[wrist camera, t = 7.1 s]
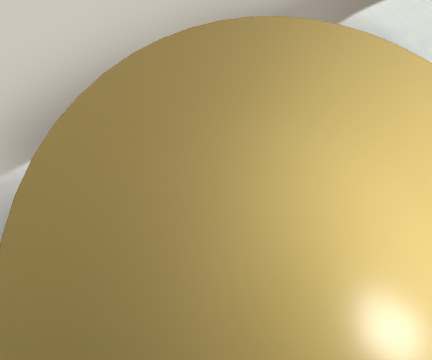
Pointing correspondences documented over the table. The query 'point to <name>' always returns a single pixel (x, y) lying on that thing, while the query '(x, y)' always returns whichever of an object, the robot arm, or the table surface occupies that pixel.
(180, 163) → the plug
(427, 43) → the table surface
